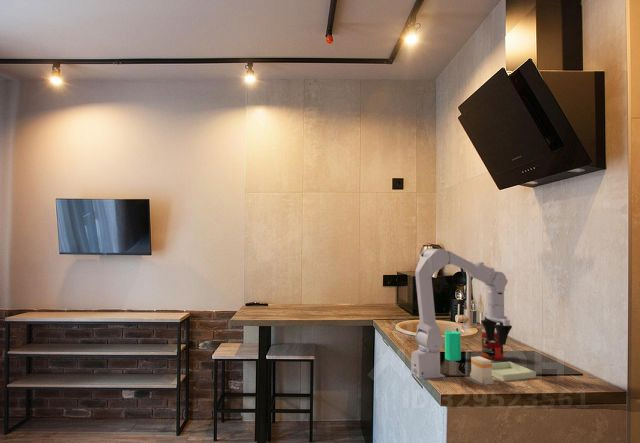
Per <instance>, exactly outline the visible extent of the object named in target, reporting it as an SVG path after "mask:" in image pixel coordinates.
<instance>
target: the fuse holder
mask: <svg viewBox="0 0 640 443" xmlns="http://www.w3.org/2000/svg"><path fill="white" fill-rule="evenodd" d="M464 378H465V379H467V380H469V381H471V382H473V383H474V384H477V385H479V386H480V387H482V386H492V385H493V386H495V385H500V383H499V382H497V381H495V380H494V378H493V377H492V378H490V379H484V384H482V383H480V382H478V381H476V380H474V379H472V377H471V372H470V373H469V376H464Z"/></svg>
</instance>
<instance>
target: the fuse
mask: <svg viewBox="0 0 640 443" xmlns="http://www.w3.org/2000/svg"><path fill="white" fill-rule="evenodd" d="M492 361H493V360H489V359H486V358H483V356H482V355H481V356H480V355H477V356H471V357H470V365H471V366H470V367H471V368H470V370H471V371H470V373H471V377H472V379H474V380H476V381H478V382H480V383H482V384H484V379H490V378H492V379H493V376H492V363H493V362H492Z"/></svg>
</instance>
